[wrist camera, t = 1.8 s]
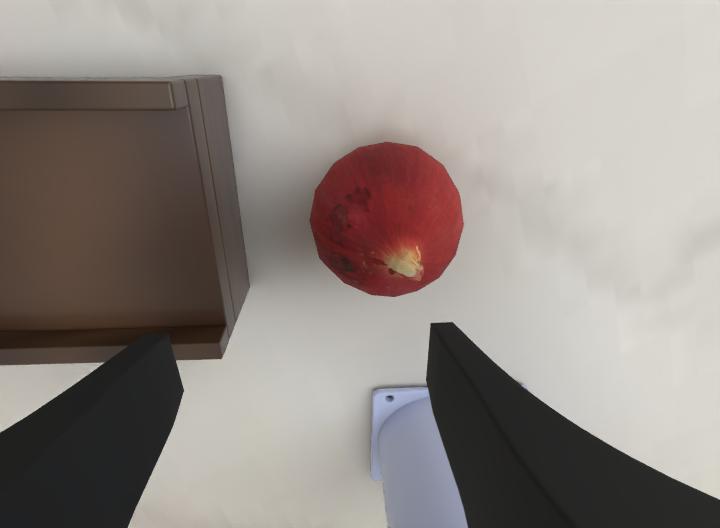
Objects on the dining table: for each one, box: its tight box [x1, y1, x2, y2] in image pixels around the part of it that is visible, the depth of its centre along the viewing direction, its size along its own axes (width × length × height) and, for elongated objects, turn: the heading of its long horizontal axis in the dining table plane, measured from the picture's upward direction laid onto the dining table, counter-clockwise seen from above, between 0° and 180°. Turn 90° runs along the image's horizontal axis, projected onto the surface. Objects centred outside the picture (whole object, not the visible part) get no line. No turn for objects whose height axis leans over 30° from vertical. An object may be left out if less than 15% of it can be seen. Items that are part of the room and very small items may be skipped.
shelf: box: [0, 75, 250, 365], centre depth 16 cm, size 16×10×6 cm, turn 90°
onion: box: [309, 142, 464, 297], centre depth 15 cm, size 6×6×8 cm
